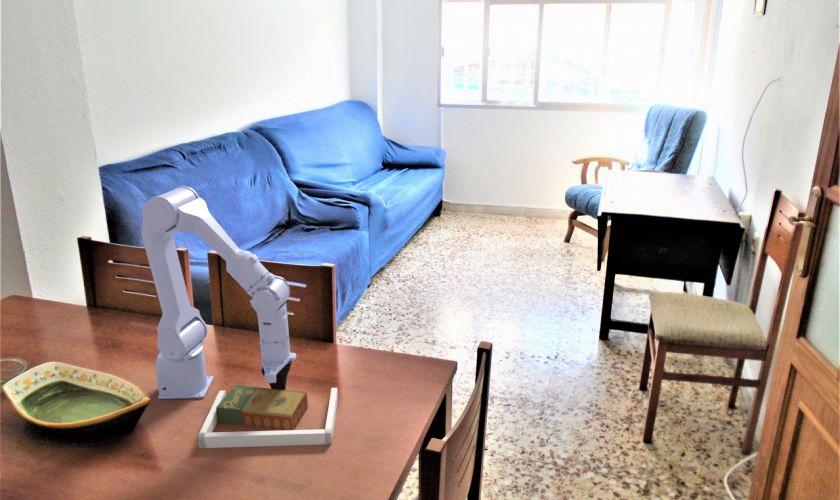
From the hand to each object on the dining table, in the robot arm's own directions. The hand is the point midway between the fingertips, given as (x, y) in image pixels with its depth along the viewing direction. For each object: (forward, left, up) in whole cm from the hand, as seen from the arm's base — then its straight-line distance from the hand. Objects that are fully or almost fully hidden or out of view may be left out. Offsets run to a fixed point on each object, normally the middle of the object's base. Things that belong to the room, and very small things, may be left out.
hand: (279, 394), depth 123 cm
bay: (0, -7, -1) cm, 7 cm away
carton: (-2, -5, -2) cm, 6 cm away
